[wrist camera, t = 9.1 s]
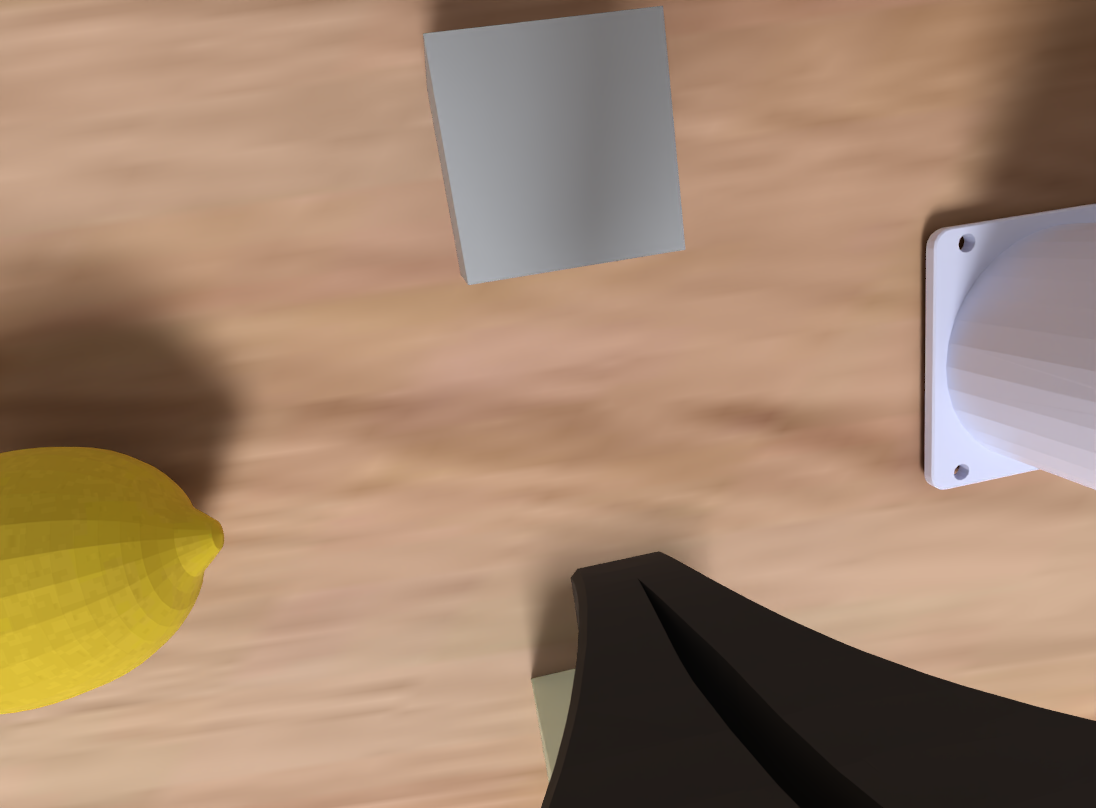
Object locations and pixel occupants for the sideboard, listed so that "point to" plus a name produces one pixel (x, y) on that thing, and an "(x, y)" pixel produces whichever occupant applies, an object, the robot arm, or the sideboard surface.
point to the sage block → (552, 711)
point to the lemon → (91, 569)
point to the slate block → (556, 142)
